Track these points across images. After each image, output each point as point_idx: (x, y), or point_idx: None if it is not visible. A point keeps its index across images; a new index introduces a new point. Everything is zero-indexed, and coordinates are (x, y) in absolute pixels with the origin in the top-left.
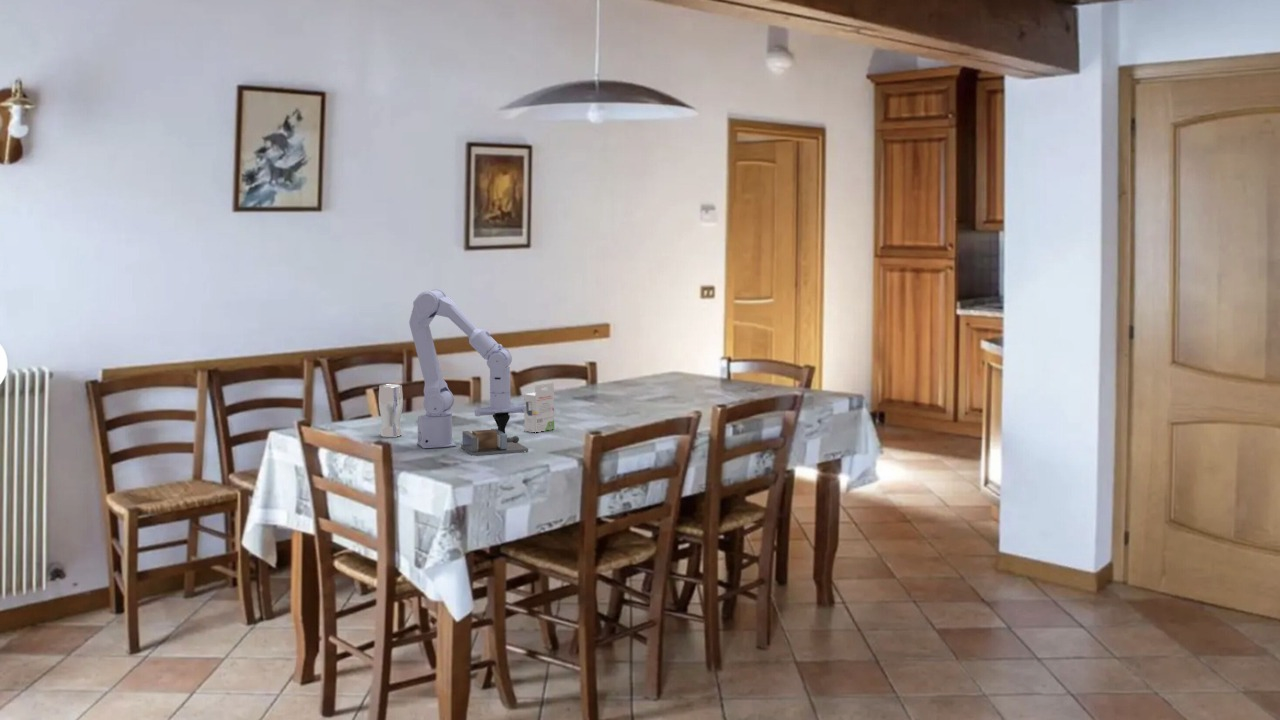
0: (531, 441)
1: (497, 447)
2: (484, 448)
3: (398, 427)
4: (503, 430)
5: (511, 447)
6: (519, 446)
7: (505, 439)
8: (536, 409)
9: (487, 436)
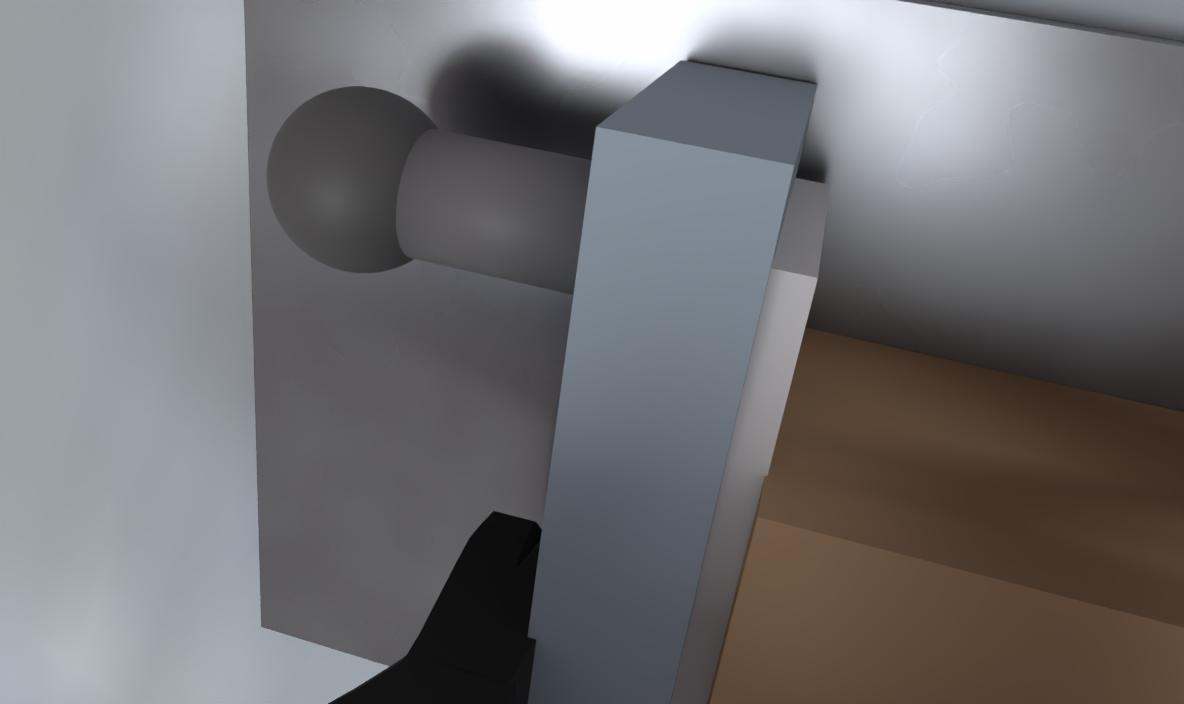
0: (45, 590)
1: None
2: (1083, 395)
3: None
4: (467, 629)
5: None
6: None
7: (679, 107)
8: None
9: (1059, 531)
